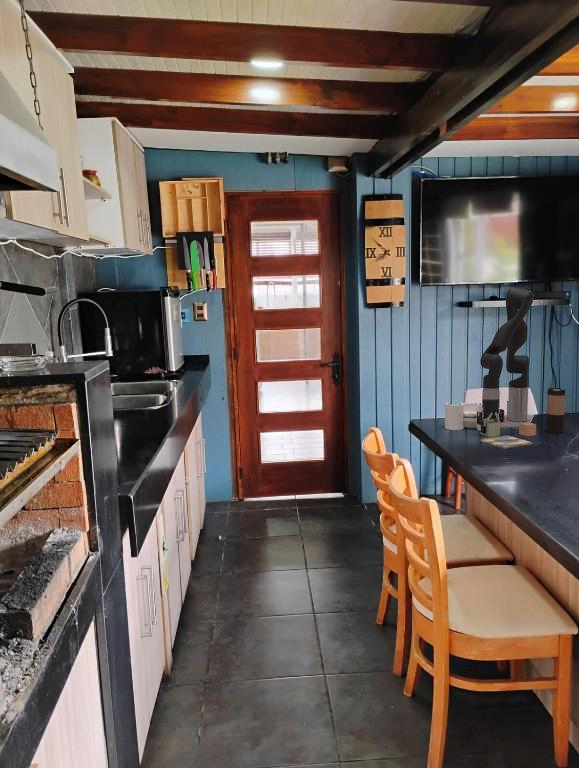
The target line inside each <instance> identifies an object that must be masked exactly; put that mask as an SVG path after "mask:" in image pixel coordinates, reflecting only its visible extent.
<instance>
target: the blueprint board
mask: <svg viewBox="0 0 579 768" xmlns="http://www.w3.org/2000/svg"><path fill="white" fill-rule="evenodd" d="M480 442H482V443H486V444H489V445H492V446H495V447H498V448H501V449H510V448H517V447H523V446H524V447H525V446H529V445H533V442H531V441H528V440H526V439H523V438H518V437H515V436H511V435H508V434H507V435H499V436H492V437H487V438H486V437H485V438H480Z"/></svg>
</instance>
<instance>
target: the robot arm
mask: <svg viewBox="0 0 579 768" xmlns="http://www.w3.org/2000/svg"><path fill="white" fill-rule="evenodd" d="M534 300H535V294H534V292H533V291H532V290H529V289H525V288H520V287H516V286H512V287H510V288H509V289H507V292H506V295H505V308H506V310H505V311H506V318H507V321H506V322H505V323H504V324H502V325H501V326H500V327H499V328H498V329H497V331H496V332H495V334H494V337H493V338H492V340H491V343H490V344H489V345H488V347H487V348H486V349H485V350H484V352H483V353H482V355H481V357H480V361H479V362H480V366H481V367H482V368H483V369H486V370H488V373H487V374H484V376H483V378H482V392H481V395H482V396H481V397H482V398H481V399H482V401H481V405H482V407H483V411H482V412H477V424H479V425H481V430H480V434H481V433H482V434H486V426H485V425H486V424H487V422H488V421H489V420H491V419H493V420H494V421H496V422H500V425H501V424H502V423H505V409H503V408H500V407H501V406H500V400H501V399H500V398H501V397H500V396H501V394H500V393H501V392H500V391H501V390H500V378H501V375H502V370H503V367H504V360H503V358H502V356H501V355H500V353H503V352H505V351H506V358H505V368H506V372H507V373H509V374H517V375H518V374H521V375H520V376H519V377H517V378H514V379H511V380H510V381H508V398H507V399H508V400H506V420H508V421H510V422H515V423H516V422H521V423H524V422H527V421H528V411H529V410H528V409H529V408H528V406H529V373H530V358H529V356H528V355H525V354H524V355H523V354H522V355H519V354H518V355H517V354H516V353H517V352H518V350H519V349H521V348H522V347H523V346H524V344H525V343H526V341H528V333H529V332H528V325H527V323H526V321H525V320H524V318H525V316H526V315H527V313H528V311H529V310H530V309H531V307H532V305H533V302H534ZM515 354H516V355H515ZM498 408H499V409H498ZM498 413H499V416H498ZM485 418H486V419H485ZM482 434H481V435H482Z"/></svg>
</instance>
